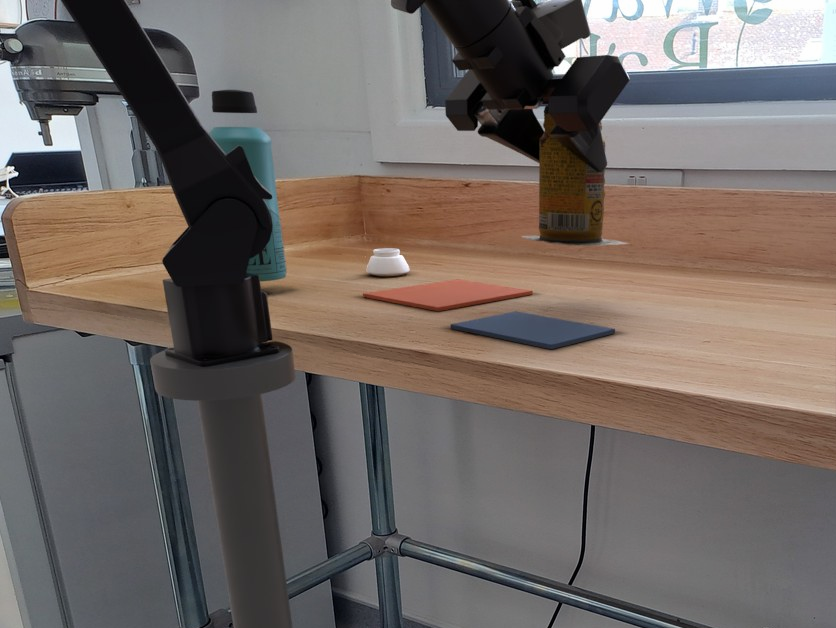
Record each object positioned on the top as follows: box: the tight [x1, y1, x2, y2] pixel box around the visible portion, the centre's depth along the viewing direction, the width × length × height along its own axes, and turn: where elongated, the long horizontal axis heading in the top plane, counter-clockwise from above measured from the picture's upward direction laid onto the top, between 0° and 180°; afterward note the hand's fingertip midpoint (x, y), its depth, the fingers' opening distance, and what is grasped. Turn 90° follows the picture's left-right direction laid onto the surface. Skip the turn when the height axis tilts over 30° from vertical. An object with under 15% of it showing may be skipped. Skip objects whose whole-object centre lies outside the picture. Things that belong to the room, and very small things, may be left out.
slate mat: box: [450, 311, 616, 350], centre depth 73 cm, size 8×12×1 cm, turn 50°
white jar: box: [365, 247, 410, 277], centre depth 103 cm, size 5×3×5 cm
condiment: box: [520, 104, 630, 248], centre depth 78 cm, size 7×8×12 cm
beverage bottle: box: [208, 89, 287, 283], centre depth 88 cm, size 6×7×20 cm
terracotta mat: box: [362, 278, 534, 312], centre depth 90 cm, size 13×12×1 cm
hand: (579, 167), depth 79 cm, fingers closed on condiment, 6 cm apart
